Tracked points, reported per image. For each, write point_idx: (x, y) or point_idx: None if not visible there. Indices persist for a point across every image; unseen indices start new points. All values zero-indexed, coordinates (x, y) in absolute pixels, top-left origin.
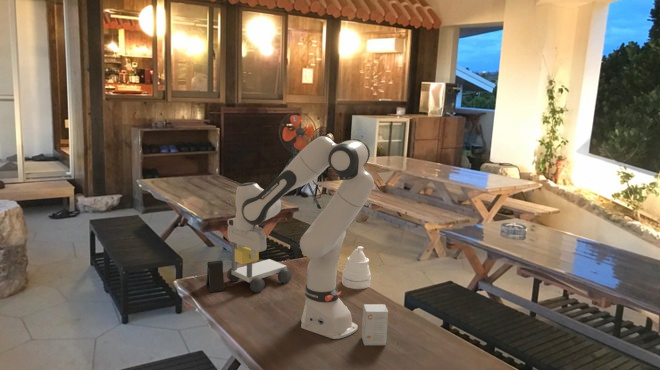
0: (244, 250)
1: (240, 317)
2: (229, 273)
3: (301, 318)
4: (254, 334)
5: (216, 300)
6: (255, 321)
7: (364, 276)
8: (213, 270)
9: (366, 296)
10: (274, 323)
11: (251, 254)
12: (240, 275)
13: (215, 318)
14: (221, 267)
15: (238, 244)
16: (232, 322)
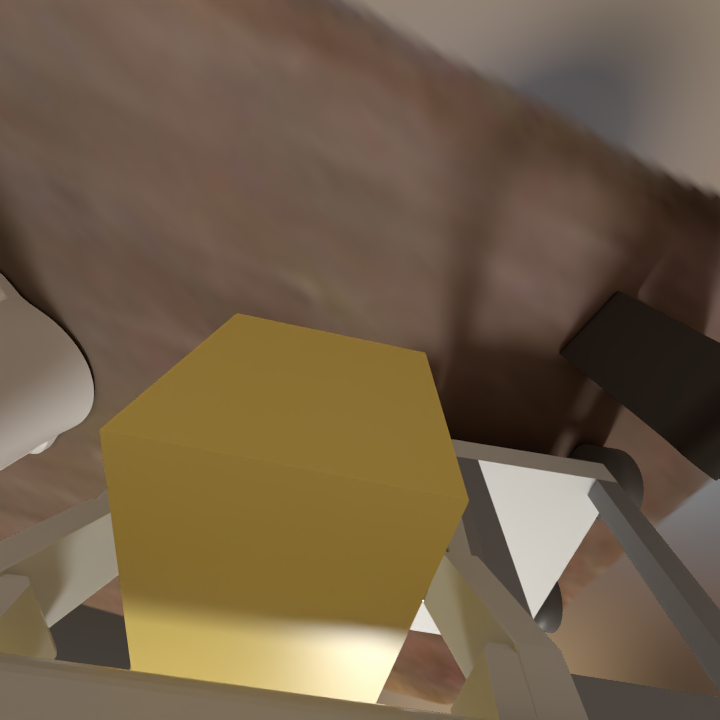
0: (196, 548)
1: (266, 153)
2: (621, 467)
3: (45, 326)
4: (45, 28)
5: (524, 234)
6: (175, 172)
7: (130, 669)
8: (718, 383)
9: (103, 586)
10: (101, 222)
11: (81, 513)
12: (530, 462)
13: (364, 22)
14: (678, 436)
15: (516, 708)
16: (248, 61)
